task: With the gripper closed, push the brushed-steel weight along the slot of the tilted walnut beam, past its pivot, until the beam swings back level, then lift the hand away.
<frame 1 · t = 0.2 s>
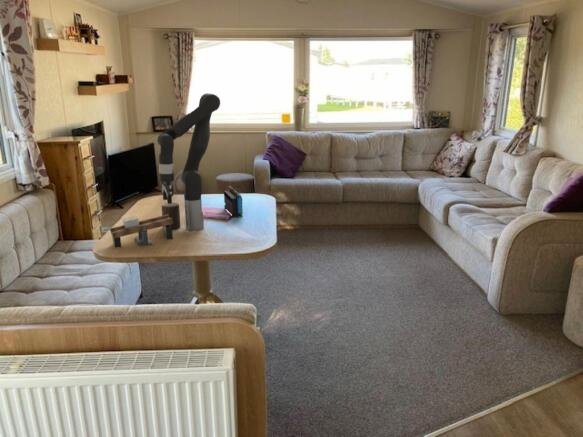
hand: (167, 201, 253), 17 cm above the table, tool pointing down, fingers open, 8 cm apart
walnut beam: (141, 225, 241), point 9 cm above the table, hinge at 6.6°, touching steel weight
steel weight: (132, 228, 239), point 8 cm above the table, tilted 7°, touching walnut beam
pillar candle: (171, 227, 266), on the table
game console: (233, 212, 295), on the table
pivot stand: (143, 241, 244), on the table
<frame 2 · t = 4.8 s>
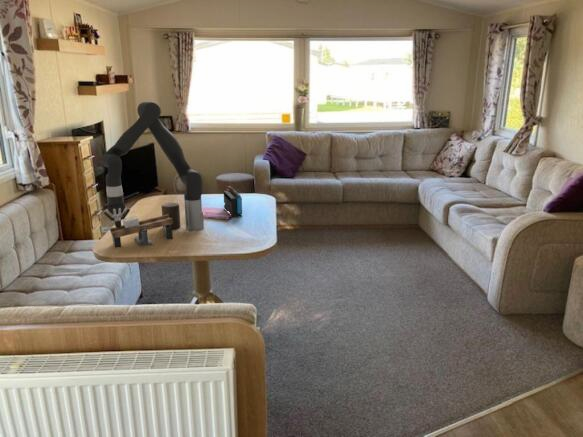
hand: (118, 227, 236), 9 cm above the table, tool pointing down, fingers closed
steel weight: (132, 228, 239), point 8 cm above the table, tilted 7°, touching gripper, walnut beam
everything else where it was.
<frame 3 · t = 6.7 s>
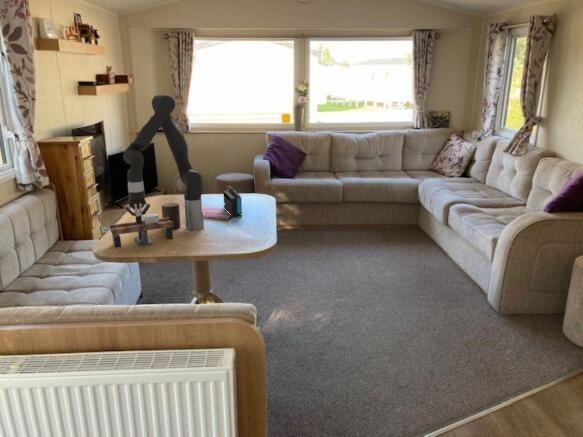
hand: (138, 222, 240), 10 cm above the table, tool pointing down, fingers closed
walnut beam: (142, 225, 241), point 9 cm above the table, hinge at -0.3°, touching steel weight
steel weight: (151, 224, 243), point 9 cm above the table, touching gripper, walnut beam
everything else where it was.
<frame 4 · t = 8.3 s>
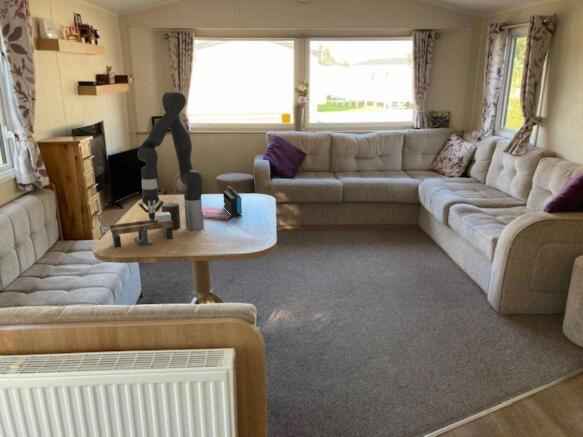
hand: (152, 219, 243), 11 cm above the table, tool pointing down, fingers closed
steel weight: (163, 223, 246), point 9 cm above the table, touching gripper, walnut beam
everything else where it was.
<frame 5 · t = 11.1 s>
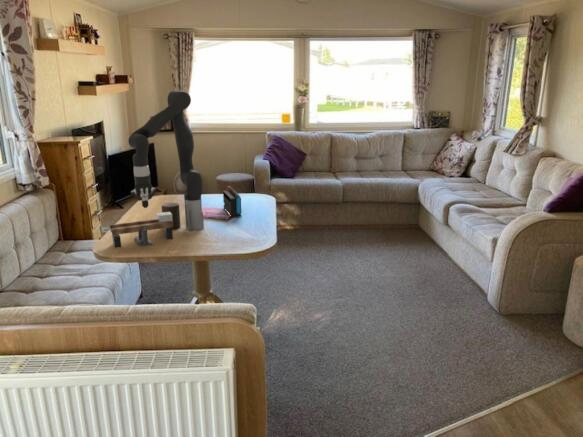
hand: (145, 207, 239), 18 cm above the table, tool pointing down, fingers closed
steel weight: (164, 222, 246), point 9 cm above the table, touching walnut beam
everything else where it was.
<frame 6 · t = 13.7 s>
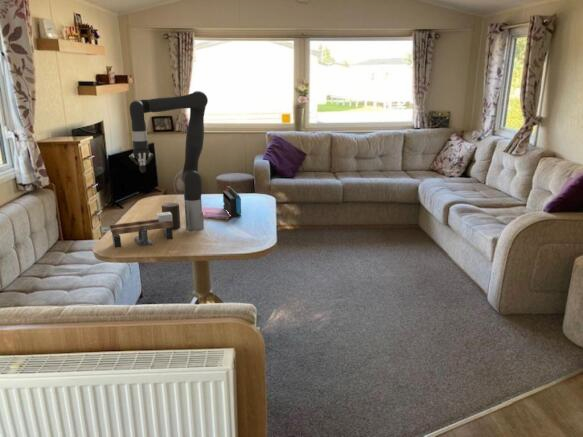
hand: (142, 172, 251), 33 cm above the table, tool pointing down, fingers closed
nothing on the table moved.
at the end: walnut beam at -1° (first picture: +7°); steel weight 1.9 cm from the target spot, point 8.6 cm above the table; steel weight tilted 1° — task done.
